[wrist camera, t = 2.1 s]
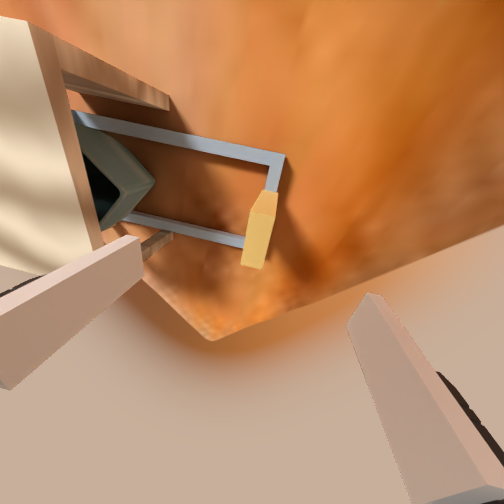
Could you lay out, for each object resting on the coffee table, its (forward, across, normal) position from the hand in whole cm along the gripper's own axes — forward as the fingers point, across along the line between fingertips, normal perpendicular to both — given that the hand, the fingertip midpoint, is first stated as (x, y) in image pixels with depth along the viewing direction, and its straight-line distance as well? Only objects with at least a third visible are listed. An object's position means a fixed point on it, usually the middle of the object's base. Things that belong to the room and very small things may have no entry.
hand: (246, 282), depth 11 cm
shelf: (+18, -20, 0) cm, 27 cm away
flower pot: (+18, -20, 0) cm, 27 cm away
